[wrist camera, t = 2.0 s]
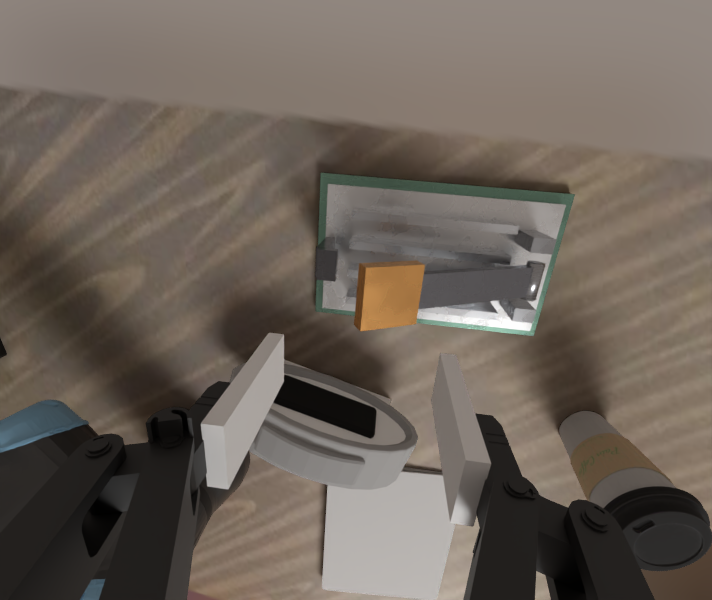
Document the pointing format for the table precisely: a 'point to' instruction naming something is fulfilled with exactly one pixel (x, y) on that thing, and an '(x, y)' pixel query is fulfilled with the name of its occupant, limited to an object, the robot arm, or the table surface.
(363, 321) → the orange tipped grey lever
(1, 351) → the multiport hub
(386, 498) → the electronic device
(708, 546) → the coffee cup
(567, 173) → the table surface
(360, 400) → the alarm clock
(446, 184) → the heatsink
